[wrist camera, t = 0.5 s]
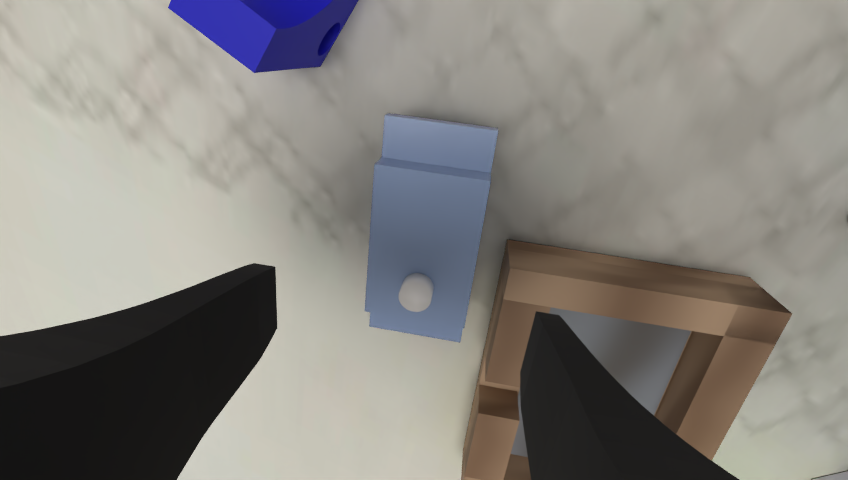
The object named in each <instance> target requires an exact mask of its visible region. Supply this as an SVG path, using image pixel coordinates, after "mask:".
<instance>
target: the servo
mask: <svg viewBox="0 0 848 480" xmlns="http://www.w3.org/2000/svg"><path fill="white" fill-rule="evenodd" d="M497 135H498V128H494V127H487V126H479V125H472V124H465V123H457V122H450V121H443V120H435V119H428V118H421V117H413V116H406V115H399V114H391V113H388V114H386V115H385V119H384V133H383V147H382V157H381V158H380V159H379V160H378V161H377V162H376V163H375V165H374V180H373V195H372V210H371V225H370V240H369V255H368V270H367V285H366V300H365V311H367V312H370V325H369V326H370V327H376V328H381V329H387V330H393V331H398V332H404V333H410V334H415V335H421V336H427V337H432V338H438V339H444V340H449V341H455V342H460V341H461V335H462V330H463V328H464V326H465V321H466V315H467V310H468V304H469V299H470V293H471V288H472V282H473V277H474V271H475V266H476V260H477V255H478V249H479V244H480V238H481V233H482V227H483V222H484V216H485V211H486V205H487V200H488V194H489V189H490V183H491V169H492V163H493V158H494V152H495V146H496V141H497Z"/></svg>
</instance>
